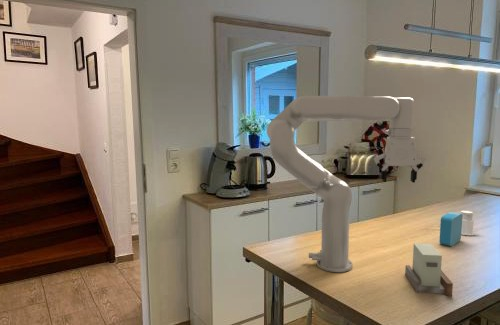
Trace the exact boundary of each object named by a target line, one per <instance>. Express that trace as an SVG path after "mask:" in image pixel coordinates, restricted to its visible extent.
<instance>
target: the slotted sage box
mask: <svg viewBox="0 0 500 325" xmlns="http://www.w3.org/2000/svg"><path fill="white" fill-rule="evenodd" d="M412 248H413V250H412V252H413V253H412V267H411V268H412V270H413V271H414V273H415V274H416V276H417V277H418V279H419V280H420V282H421V286H438V287H440V278H441V270H442V259H443V257H442V256H443V255H442V254H441V253H440V252H439V251H438V250H437V249H436V248H435V246H434V245H433V244H432V243H415V242H414V243H413V247H412Z"/></svg>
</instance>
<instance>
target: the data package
mask: <svg viewBox="0 0 500 325" xmlns="http://www.w3.org/2000/svg"><path fill="white" fill-rule="evenodd" d="M439 227H440V228H439V240H438V241H439V244H440V245H444V246H448V247H453V246H455V245H456V244H457V243H458V242H459V243H460V241H461V239H462V234H461V231H462V214H461V212H460V213H459V212H454V211H450V212H447V213H446V214H444V215H442V216H441V217H440V225H439Z"/></svg>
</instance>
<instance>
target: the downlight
mask: <svg viewBox="0 0 500 325" xmlns="http://www.w3.org/2000/svg"><path fill="white" fill-rule="evenodd" d="M460 213H461V214H462V231H461V236H462V235H463V236H475V233H474V222H475V220H474V219H473V216H474V215H473V214H474V212H473V211H471V210H470V211H469V210H461V211H460Z"/></svg>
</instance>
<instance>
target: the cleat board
mask: <svg viewBox="0 0 500 325" xmlns="http://www.w3.org/2000/svg"><path fill="white" fill-rule="evenodd" d="M404 274H405V276H406V278H407V279H408V282H409V283H410V284H411V286H412V287H413V289H414V291H415V292H416V293H426V294H444V295H445V296H446V297H452V296H453V288H454V283H453V282H452V281H451V280H450V278H449V277H448V276H447V275H446V274H445V272H443V270H442V269H441V278H440V287H438V286H421V282H420V280H419V279H418V277H417V276H416V274H415V273H414V271H413V270H412V267H411V266H410V265H409V264H405V273H404Z"/></svg>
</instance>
